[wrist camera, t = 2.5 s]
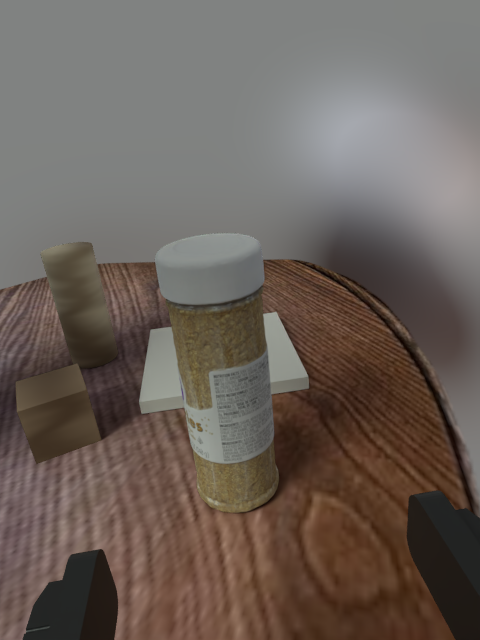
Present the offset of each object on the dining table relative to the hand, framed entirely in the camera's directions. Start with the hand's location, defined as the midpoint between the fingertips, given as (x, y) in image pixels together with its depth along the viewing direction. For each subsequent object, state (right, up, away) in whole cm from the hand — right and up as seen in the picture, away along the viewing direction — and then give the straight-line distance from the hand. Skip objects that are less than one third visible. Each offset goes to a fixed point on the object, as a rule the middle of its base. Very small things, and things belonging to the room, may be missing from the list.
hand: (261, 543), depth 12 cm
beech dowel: (-13, +2, +28) cm, 31 cm away
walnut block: (-12, -2, +18) cm, 22 cm away
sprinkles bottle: (-1, -3, +13) cm, 13 cm away
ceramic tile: (-2, +2, +25) cm, 26 cm away
